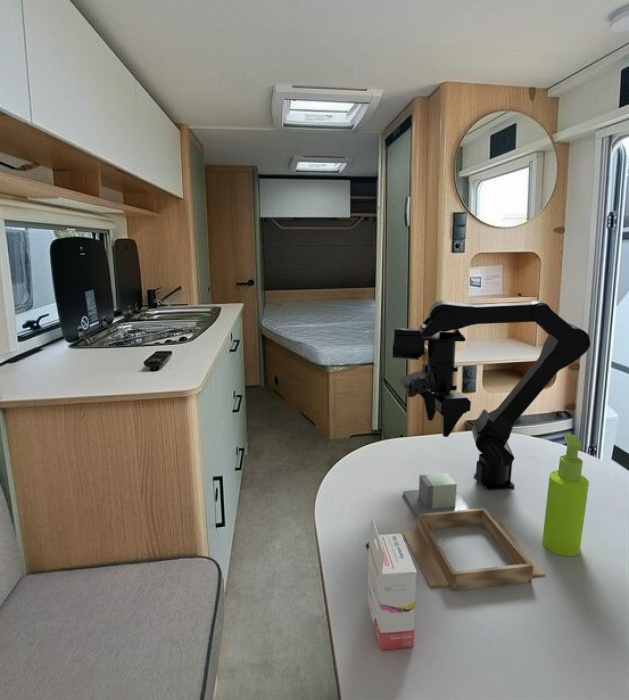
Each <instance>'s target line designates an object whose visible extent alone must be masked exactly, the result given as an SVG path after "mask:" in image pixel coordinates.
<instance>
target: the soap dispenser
mask: <svg viewBox="0 0 629 700" xmlns="http://www.w3.org/2000/svg"><path fill="white" fill-rule="evenodd" d="M562 435H563V438H564V440H565V442H566V444H567V445H566V452H565V453H566V454H564V455H561V456H560V457H559V464H558V470H553V471H552V472H550V473H549V478H548V487H547V495H546V496H547V497H546V503H545V504H546V506H545V513H544V514H545V515H544V523H543V531H542V544H543V546H544V547H545V548H546V549H547V550H548V551H550V552H551V553H553V554H555V555H557V556H558V555H559V556H562V557H576V556H578V555H579V553H580V551H581V545H582V537H583V530H584V523H585V522H584V521H585V515H586V507H587V500H588V491H589V486H590V485H589V484H590V481H589V480H588V478H586V477H585V476H584V475H582V470H583V463H584V462H583V460H582V459H581V458H579V457H578V456H579V450H582V443H581V441H580V439H579V437H578V436H577V434H571V433H562Z"/></svg>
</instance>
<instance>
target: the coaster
mask: <svg viewBox="0 0 629 700" xmlns="http://www.w3.org/2000/svg"><path fill="white" fill-rule="evenodd" d="M402 495H403V497H404V499H405V500H406V502H407V503H408V505H409V507H410V509H411V511H412V512H413V514H414V516H415V518H416V519H417V514H425V513H436V512H447V511H458V510H469V509H471V508H470V507H469V506H468V504H467V503H466V502H465V501H464V499H463V498H462V497H461V496H460V495H459V492H457V491H456V503H455V507H445V508H433V509H426V508H425V506H424V505H423V503H422V501H421V500H420V498H419V489H412V490H403V491H402Z"/></svg>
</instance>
